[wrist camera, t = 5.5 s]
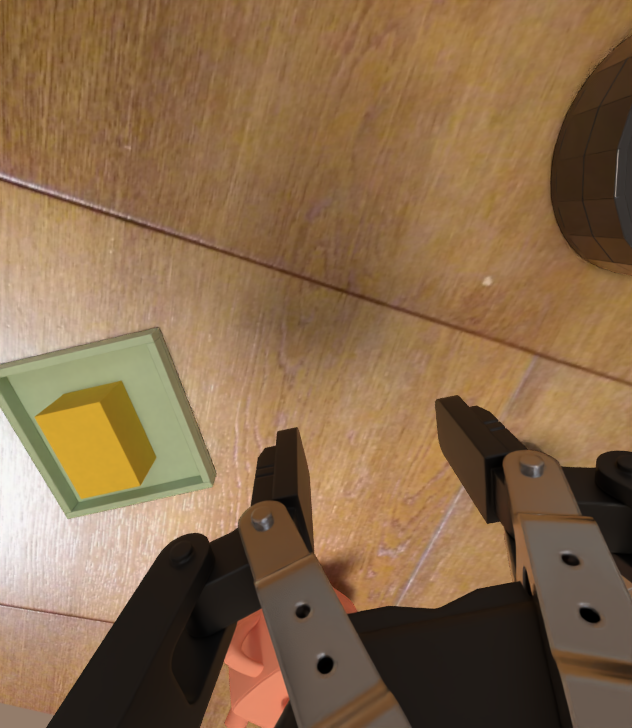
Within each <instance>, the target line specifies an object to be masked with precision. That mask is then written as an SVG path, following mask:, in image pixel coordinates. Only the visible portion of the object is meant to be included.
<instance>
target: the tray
mask: <svg viewBox="0 0 632 728" xmlns="http://www.w3.org/2000/svg"><path fill="white" fill-rule="evenodd" d="M118 381H122V383H123V385H124V387H125V389H126V391H127V393H128V396H129V398H130V400H131V402H132V404H133V407H134V409H135V411H136V413H137V415H138V418H139V420H140V422H141V424H142V426H143V429H144V431H145V433H146V435H147V437H148V440H149V442H150V444H151V446H152V448H153V451H154V453H155V455H156V460H155V461H154V463H153V465H152V467H151V468H150V470H149V472H148V474H147V475H146V477H145V479H144V481H143V483H142V484H141V486H138V487H134V488H129V489H125V490H120V491H116V492H111V493H107V494H102V495H98V496H93V497H89V498H84V499H81V498H80V496H79V494H78V493H77V491H76V489H75V487H74V486H73V484H72V482H71V480H70V479H69V477H68V475H67V473H66V472H65V470H64V468H63V466H62V465H61V463H60V461H59V459H58V458H57V456H56V454H55V452H54V451H53V449H52V447H51V445H50V444H49V442H48V440H47V438H46V437H45V435H44V433H43V432H42V430H41V428H40V426H39V425H38V423H37V421H36V419H35V418H34V417H35V416H36V415H37V414H39V413H40V412H41V411H43V410H44V409H45V408H46V407H48V406H49V405H50V404H52V403H53V402H54V401H55V400H57V399H58V398H59V397H61V396H62V395H63V394H66V393H70V392H74V391H79V390H83V389H87V388H92V387H96V386H100V385H105V384H109V383H113V382H118ZM0 408H1V409H2V411H3V413H4V414H5V416H6V418H7V419H8V421H9V423H10V424H11V426H12V427H13V429H14V431H15V432H16V434H17V436H18V437H19V439H20V441H21V442H22V444H23V446H24V447H25V449H26V451H27V452H28V454H29V456H30V457H31V459H32V461H33V462H34V464H35V466H36V467H37V469H38V471H39V472H40V474H41V475H42V477H43V479H44V480H45V482H46V484H47V485H48V487H49V489H50V490H51V492H52V494H53V495H54V497H55V499H56V500H57V502H58V504H59V505H60V507H61V509H62V510H63V512H64V513H65V515H66V517H67V519H71V518H75V517H80V516H84V515H89V514H93V513H98V512H102V511H107V510H111V509H116V508H120V507H125V506H129V505H134V504H138V503H143V502H148V501H152V500H157V499H161V498H166V497H170V496H175V495H179V494H184V493H188V492H193V491H197V490H202V489H206V488H211V487H213V484H214V480H215V477H216V472H215V469H214V467H213V464H212V461H211V459H210V456H209V454H208V451H207V449H206V446H205V444H204V441H203V439H202V436H201V433H200V431H199V428H198V426H197V423H196V421H195V418H194V416H193V413H192V411H191V408H190V405H189V403H188V400H187V398H186V395H185V393H184V390H183V388H182V385H181V382H180V380H179V377H178V375H177V372H176V370H175V367H174V365H173V362H172V360H171V357H170V354H169V352H168V349H167V347H166V344H165V342H164V339H163V337H162V334H161V332H160V329H159V327H158V328H154V329H149V330H145V331H141V332H137V333H132V334H128V335H124V336H120V337H115V338H111V339H107V340H102V341H98V342H94V343H90V344H85V345H81V346H77V347H73V348H68V349H64V350H60V351H56V352H51V353H47V354H43V355H39V356H34V357H30V358H26V359H22V360H17V361H13V362H9V363H4V364H0Z"/></svg>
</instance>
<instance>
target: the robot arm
mask: <svg viewBox="0 0 632 728" xmlns="http://www.w3.org/2000/svg"><path fill="white" fill-rule="evenodd" d="M435 409H436V419H437V430H438V439H439V444H440V447H441V450H442V452H443V454H444V456H445V458H446V459H447V461H448V462H449V464H450V466H451V467H452V469H453V470H454V472H455V473H456V475H457V477H458V478H459V480H460V481H461V483H462V485H463V486H464V488H465V489H466V491H467V493H468V494H469V496H470V497H471V499H472V500H473V502H474V504H475V505H476V507H477V508H478V510H479V512H480V513H481V515H482V516H483V518H484V519H485V521H486V523H487V524H489V523H495V522H501V523H502V525H503V526H504V539H505V545H506V550H507V556H508V561H509V567H510V572H511V578H512V582H511V583H506V584H501V585H496V586H490V587H485V588H480V589H476V590H474V591H472V592H470V593H468V594H466V595H464V596H462V597H460V598H458V599H456V600H454V601H452V602H450V603H448V604H446V605H444V606H442V607H440V608H436V609H429V608H413V607H398V606H386V607H381V608H375V609H370V610H365V611H360V612H354V613H349V614H347V613H346V611H345V610H344V608H343V606H342V604H341V602H340V600H339V598H338V597H337V595H336V593H335V591H334V589H333V587H332V585H331V583H330V582H329V580H328V578H327V576H326V574H325V572H324V570H323V569H322V567H321V565H320V563H319V561H318V559H317V557H316V556H315V554H314V539H313V522H312V505H311V489H310V476H309V470H308V465H307V461H306V457H305V453H304V449H303V445H302V441H301V437H300V433H299V430H298V427H296V428H291V429H286V430H281V431H277V439H276V446H272V447H267V448H265V449H264V450H263V451H262V453H261V454H260V456H259V457H258V461H257V467H256V468H257V470H256V474H255V481H254V487H253V494H252V500H251V507H249V508H248V509H247V510H246V511H245V512H244V513H243V514H242V515H241V517H240V519H239V521H238V528H237V529H235V530H234V531H232V532H231V533H229V534H227V535H225V536H223V537H220V538H218V539H216V540H214V541H212V542H210V543H209V541H208V539H207V537H206V536H204V535H203V534H199V533H190V534H186V535H183V536H181V537H178V538H177V539H175V540H173V541H172V542H170V543H169V544H168V545H167V546H166V547H165V548H164V549H163V550H162V551H161V553H160V554H159V555H158V557H157V558H156V560H155V561H154V563H153V565H152V566H151V568H150V569H149V571H148V572H147V574H146V575H145V577H144V578H143V580H142V581H141V583H140V585H139V586H138V588H137V589H136V591H135V592H134V594H133V595H132V597H131V598H130V600H129V601H128V603H127V604H126V606H125V608H124V609H123V611H122V612H121V614H120V615H119V617H118V618H117V620H116V621H115V623H114V624H113V626H112V627H111V629H110V631H109V632H108V634H107V635H106V637H105V638H104V640H103V641H102V643H101V644H100V646H99V647H98V649H97V650H96V652H95V654H94V655H93V657H92V658H91V660H90V661H89V663H88V664H87V666H86V667H85V669H84V670H83V672H82V673H81V675H80V677H79V678H78V680H77V681H76V683H75V684H74V686H73V687H72V689H71V690H70V692H69V693H68V695H67V696H66V698H65V700H64V701H63V703H62V704H61V706H60V707H59V709H58V710H57V712H56V713H55V715H54V716H53V718H52V720H51V721H50V723H49V724H48V726H47V727H46V728H200V725H201V723H202V720H203V717H204V714H205V712H206V709H207V706H208V703H209V701H210V698H211V695H212V692H213V690H214V687H215V684H216V681H217V679H218V676H219V673H220V670H221V668H222V665H223V662H224V659H225V657H226V654H227V651H228V648H229V646H230V643H231V640H232V637H233V634H234V632H235V629H236V626H237V622H238V621H239V620H241V619H243V618H245V617H247V616H249V615H250V614H252V613H254V612H256V611H258V610H260V609H262V611H263V615H264V618H265V621H266V624H267V628H268V631H269V634H270V637H271V641H272V644H273V647H274V650H275V654H276V657H277V660H278V663H279V667H280V670H281V673H282V676H283V680H284V683H285V686H286V689H287V693H288V696H289V701H288V703H287V704H286V706H285V708H284V710H283V712H282V714H281V715H280V717H279V719H278V721H277V723H276V725H275V726H274V728H632V598H631V595H630V593H629V591H628V589H627V587H626V585H625V583H624V580H623V578H622V576H623V577H624V578H626V579H627V580H628V581H630V582H631V583H632V452H629V451H610V452H606V453H603V454H601V455H600V456H599V457H598V458H597V461H596V468H579V467H562V466H561V465H560V464H559V462H558V461H557V460H556V459H554V458H553V457H551V456H550V455H547V454H545V453H542V452H539V451H533V450H528V449H527V448H526V447H525V446H524V445H523V444H522V443H521V442H520V441H519V440H518V439H517V438H516V437H515V436H514V435H513V434H512V433H511V432H510V431H509V430H508V429H507V428H506V429H505V426H504V425H503V424H502V423H501V422H498V419H497V418H496V417H495V416H494V415H493V414H492V413H491V412H489V411H487V410H485V409H483V408H481V407H478V406H472V407H469V406H468V405H467V404H466V403H465V402H464V401H463V400H462V399H461V398H460V397H459V396H458V395H455V396H450V397H445V398H440V399H436V401H435ZM621 575H622V576H621Z"/></svg>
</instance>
